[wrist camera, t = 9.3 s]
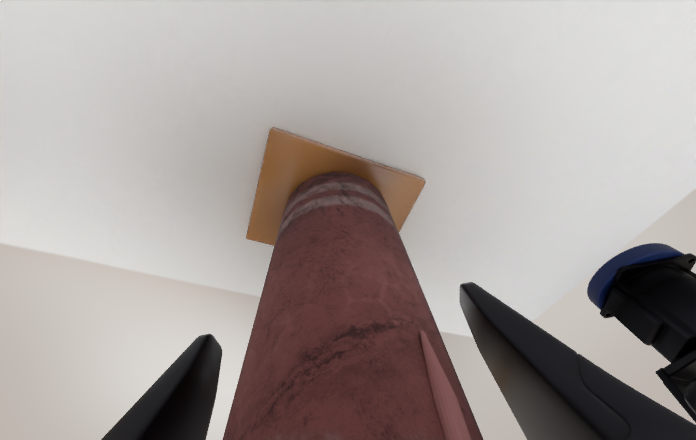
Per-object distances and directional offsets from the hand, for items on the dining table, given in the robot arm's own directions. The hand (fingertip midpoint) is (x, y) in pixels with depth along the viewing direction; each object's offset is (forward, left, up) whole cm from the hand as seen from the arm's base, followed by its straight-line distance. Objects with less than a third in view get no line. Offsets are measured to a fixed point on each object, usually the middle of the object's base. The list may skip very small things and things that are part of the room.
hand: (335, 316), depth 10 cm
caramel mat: (0, 0, -8) cm, 8 cm away
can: (0, 0, -8) cm, 8 cm away
